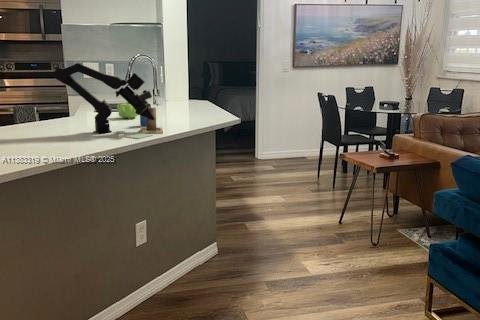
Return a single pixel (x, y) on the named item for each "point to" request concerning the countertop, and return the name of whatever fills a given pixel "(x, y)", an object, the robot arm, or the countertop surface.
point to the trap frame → (151, 131)
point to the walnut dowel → (151, 123)
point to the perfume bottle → (144, 118)
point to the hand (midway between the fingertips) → (153, 118)
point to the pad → (137, 135)
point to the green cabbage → (126, 111)
